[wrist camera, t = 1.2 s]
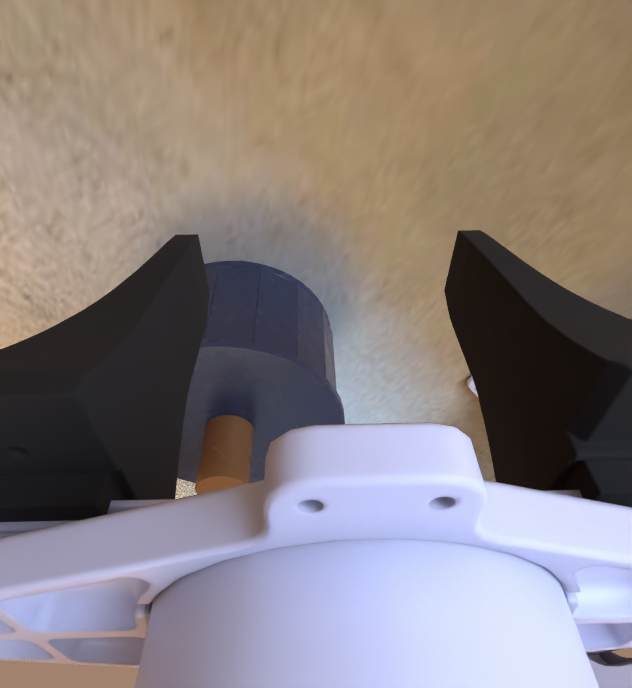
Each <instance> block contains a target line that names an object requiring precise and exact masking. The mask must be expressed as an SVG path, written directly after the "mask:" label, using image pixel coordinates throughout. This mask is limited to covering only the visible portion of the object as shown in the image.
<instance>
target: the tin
mask: <svg viewBox="0 0 632 688" xmlns="http://www.w3.org/2000/svg"><path fill="white" fill-rule="evenodd" d="M204 267H205V272H206V277H207V282H208V287H209V293H210V297H209V306H208V315H207V322H206V327H205V331H204V334H203V338H202V340H206V339H230V340H240V341H248V342H253V343H258V344H263V345H266V346H269V347H273V348H276V349H279V350H282V351H284V352H287V353H289V354H291V355H294V356H296V357H297V358H299V359H301V360H303V361H305V362H307V363H308V364H310V365H311V366H312V367H314V368H315V369H317V370H318V371H319V372H320V373H321V374H322V375H323V376H324V377H325V378H327V379H328V381H329V382H330V383H331V384H332V386H333V387H334V388H335V390H336V379H335V365H334V351H333V337H332V331H331V328H330V323H329V320H328V316H327V314H326V311H325V309H324V307H323V305H322V304H321V302H320V301H319V300H318V298H317V297H316V296H315V295H314V294H313V293H312V291H311V290H310V289H309V288H307V287H306V286H305V285H304V284H303V283H301V282H300V281H298V280H297V279H295V278H294V277H292V276H290V275H288V274H286V273H284V272H282V271H280V270H278V269H275V268H272V267H269V266H266V265H261V264H257V263H251V262H243V261H224V262H214V263H210V264H205V265H204Z"/></svg>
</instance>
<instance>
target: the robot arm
mask: <svg viewBox="0 0 632 688" xmlns="http://www.w3.org/2000/svg"><path fill="white" fill-rule="evenodd" d="M445 295H446V301H447V306H448V310H449V315H450V319H451V322H452V325H453V328H454V330H455V333H456V336H457V338H458V341H459V344H460V346H461V349H462V352H463V354H464V357H465V359H466V362H467V365H468V367H469V370H470V373H471V375H472V377H470V378H469V379H468V380H467V385H468V388H469V389H470V390H471V391H472V392H473V393H474V394H475V395H476V396H477V397H478V398H479V402H480V406H481V410H482V414H483V418H484V423H485V428H486V432H487V437H488V441H489V446H490V451H491V456H492V462H493V467H494V473H495V478H496V482H493V481H488V480H483V478H482V475H481V471H480V468H479V465H478V462H477V458H476V455H475V452H474V449H473V445H472V442H471V439H470V438H469V437H468V436H467V435H465V434H464V433H463V432H461V431H460V430H458V429H457V428H456V427H453V426H448V425H442V424H435V423H383V424H335V425H312V426H306V427H301V428H295V429H291V430H289V431H287V432H286V433H284V434H283V435H281V436H280V437H278V438H277V439H275V440H274V441H272V442H271V443H270V446H269V448H268V451H267V454H266V459H265V475H264V480H261V481H257V482H252V483H248V484H243V485H239V486H234V487H229V488H225V489H220V490H216V491H211V492H207V493H202V494H198V495H193V496H188V497H184V498H179V499H175V493H176V483H177V473H178V464H179V454H180V446H181V438H182V430H183V423H184V416H185V409H186V402H187V396H188V391H189V387H190V383H191V379H192V375H193V372H194V368H195V364H196V360H197V357H198V353H199V349H200V346H201V342H202V338H203V334H204V331H205V327H206V322H207V315H208V306H209V297H210V293H209V287H208V282H207V277H206V272H205V267H204V262H203V257H202V252H201V247H200V242H199V237H198V234H197V235H175V236H174V237H173V238H171V239H170V240H169V241H168V242H167V243H166V244H165V245H164V246H163V247H162V248H161V249H160V250H159V251H158V252H157V253H155V254H154V255H153V256H152V257H151V258H150V259H149V260H148V261H147V262H146V263H145V264H143V265H142V266H141V267H140V268H139V269H138V270H137V271H136V272H134V273H133V274H132V275H131V276H130V277H128V278H127V279H126V280H125V281H123V282H122V283H121V284H120V285H118V286H117V287H116V288H115V289H114V290H112V291H111V292H109V293H108V294H107V295H105V296H104V297H102V298H101V299H100V300H98V301H97V302H95V303H93V304H92V305H90V306H89V307H87V308H86V309H84V310H82V311H81V312H79V313H77V314H75V315H74V316H72V317H70V318H68V319H66V320H64V321H63V322H61V323H59V324H57V325H55V326H53V327H51V328H49V329H47V330H45V331H43V332H41V333H39V334H37V335H34V336H32V337H30V338H28V339H25V340H23V341H21V342H18V343H16V344H13V345H11V346H8V347H6V348H3V349H0V660H12V661H31V662H49V663H66V664H84V665H102V666H119V667H137V668H139V670H138V675H137V679H136V684H135V688H632V658H625V657H621V656H619V655H617V654H615V653H612V652H611V651H615V650H620V649H624V648H630V647H632V320H630V319H628V318H625V317H623V316H621V315H618V314H616V313H614V312H611V311H609V310H607V309H604V308H602V307H600V306H598V305H596V304H594V303H591V302H590V301H588V300H586V299H584V298H582V297H580V296H578V295H576V294H574V293H572V292H570V291H569V290H567V289H565V288H563V287H562V286H560V285H558V284H557V283H555V282H554V281H552V280H550V279H549V278H547V277H546V276H544V275H543V274H541V273H540V272H538V271H537V270H535V269H534V268H532V267H531V266H529V265H528V264H527V263H525V262H524V261H522V260H521V259H520V258H518V257H517V256H516V255H514V254H513V253H511V252H510V251H509V250H507V249H506V248H505V247H503V246H502V245H501V244H499V243H498V242H497V241H495V240H494V239H493V238H491V237H490V236H488V235H487V234H485V233H484V232H482V231H480V230H471V231H458V234H457V238H456V242H455V247H454V251H453V255H452V260H451V264H450V268H449V273H448V277H447V281H446V286H445Z"/></svg>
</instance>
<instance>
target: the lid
mask: <svg viewBox="0 0 632 688" xmlns="http://www.w3.org/2000/svg"><path fill="white" fill-rule="evenodd" d="M335 424H345V421H344V410H343V405H342V402H341V399H340V397H339V395H338V393H337V391H336V390H335V388H334V387H333V386H332V384H331V383H330V382H329V381H328V379H327V378H325V377H324V376H323V375H322V374H321V373H320V372H319V371H318V370H317V369H315V368H314V367H312V366H311V365H310V364H308V363H307V362H305V361H303V360H301V359H299V358H297V357H296V356H294V355H291V354H289V353H287V352H284V351H282V350H279V349H276V348H273V347H269V346H266V345H263V344H258V343H253V342H248V341H240V340H230V339H206V340H202V342H201V346H200V349H199V353H198V357H197V360H196V364H195V368H194V372H193V375H192V379H191V383H190V387H189V391H188V396H187V402H186V409H185V416H184V423H183V430H182V438H181V446H180V454H179V464H178V473H177V478H179V479H182V480H186V481H190V482H194V483H196V485H195V490H196V493H197V494H202V493H207V492H211V491H216V490H220V489H225V488H229V487H234V486H239V485H243V484H248V483H252V482H257V481H261V480H264V475H265V459H266V454H267V451H268V448H269V446H270V443H271V442H272V441H274V440H275V439H277V438H278V437H280V436H281V435H283V434H284V433H286V432H287V431H289V430H291V429H295V428H301V427H306V426H312V425H335Z"/></svg>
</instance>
